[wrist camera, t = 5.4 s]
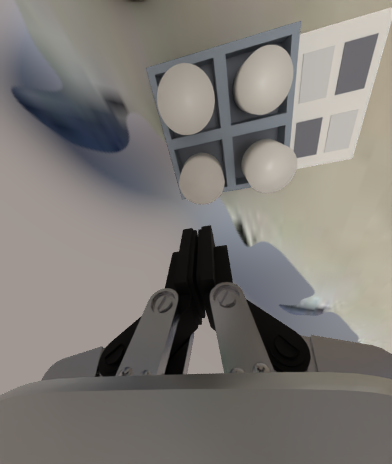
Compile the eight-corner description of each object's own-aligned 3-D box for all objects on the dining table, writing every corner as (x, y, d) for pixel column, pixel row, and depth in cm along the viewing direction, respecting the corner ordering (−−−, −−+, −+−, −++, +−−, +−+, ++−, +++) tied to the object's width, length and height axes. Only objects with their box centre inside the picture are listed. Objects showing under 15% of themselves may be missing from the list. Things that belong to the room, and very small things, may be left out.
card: (292, 37, 19) (295, 35, 18) (390, 8, 17) (397, 5, 17) (283, 170, 26) (284, 171, 26) (349, 157, 25) (353, 158, 24)
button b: (229, 64, 20) (235, 54, 15) (276, 51, 19) (296, 36, 15) (233, 117, 22) (239, 120, 18) (274, 107, 22) (290, 108, 18)
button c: (179, 154, 22) (173, 165, 18) (218, 146, 22) (221, 155, 18) (188, 191, 25) (185, 207, 21) (223, 184, 25) (226, 200, 20)
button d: (238, 141, 21) (245, 150, 17) (281, 132, 21) (300, 138, 17) (240, 181, 24) (248, 196, 20) (278, 174, 23) (294, 188, 19)
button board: (152, 72, 21) (145, 67, 18) (288, 32, 18) (301, 20, 16) (184, 191, 29) (182, 199, 27) (279, 173, 27) (286, 180, 24)
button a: (160, 80, 18) (148, 72, 14) (208, 66, 18) (209, 54, 13) (174, 133, 21) (166, 140, 17) (215, 123, 20) (218, 128, 16)
